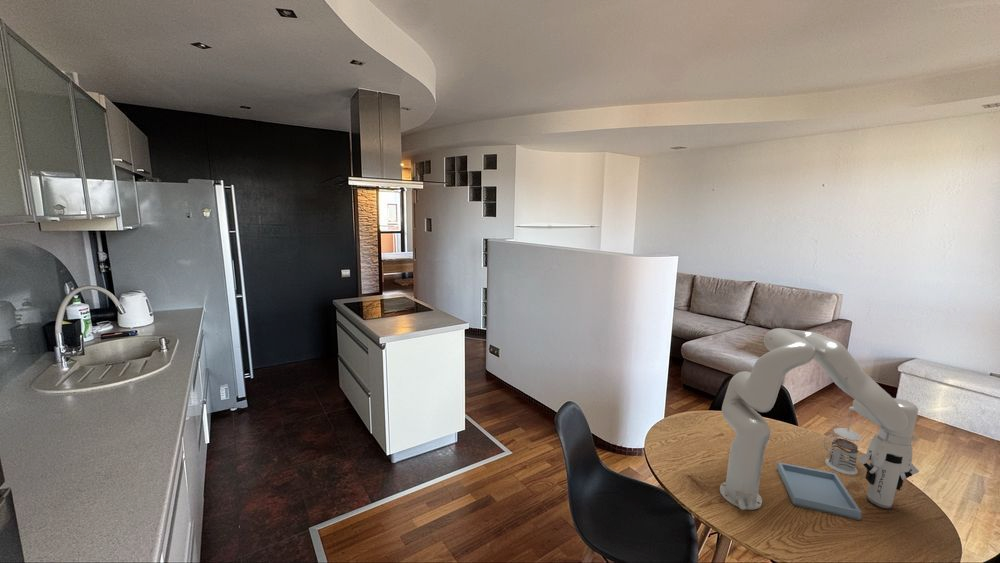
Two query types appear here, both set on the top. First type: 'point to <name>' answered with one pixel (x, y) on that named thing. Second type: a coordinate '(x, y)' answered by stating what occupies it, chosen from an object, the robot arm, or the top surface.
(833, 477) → the tray
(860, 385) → the robot arm
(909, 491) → the top surface
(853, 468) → the french press
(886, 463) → the travel mug
